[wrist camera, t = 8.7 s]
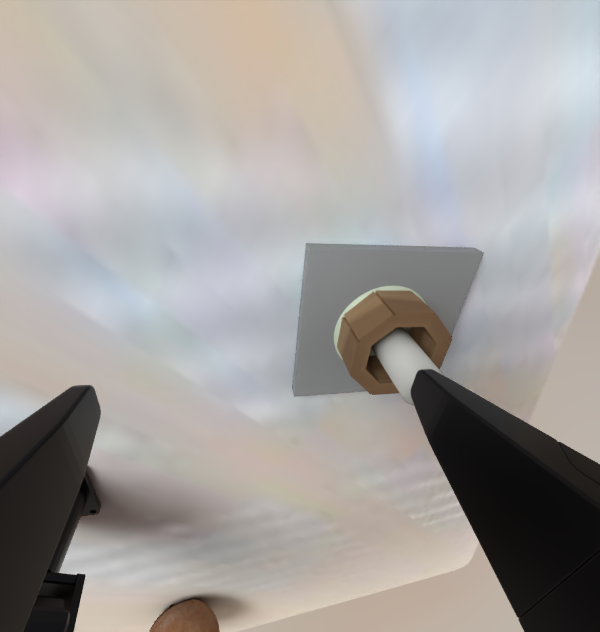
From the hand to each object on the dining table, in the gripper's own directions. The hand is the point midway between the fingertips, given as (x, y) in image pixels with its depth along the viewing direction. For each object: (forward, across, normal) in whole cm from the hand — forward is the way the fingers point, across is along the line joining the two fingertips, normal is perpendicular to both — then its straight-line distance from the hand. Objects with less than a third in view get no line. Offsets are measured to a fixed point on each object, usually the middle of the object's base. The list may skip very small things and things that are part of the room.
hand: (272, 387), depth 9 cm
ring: (+11, -10, +5) cm, 15 cm away
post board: (+12, -10, +5) cm, 16 cm away
